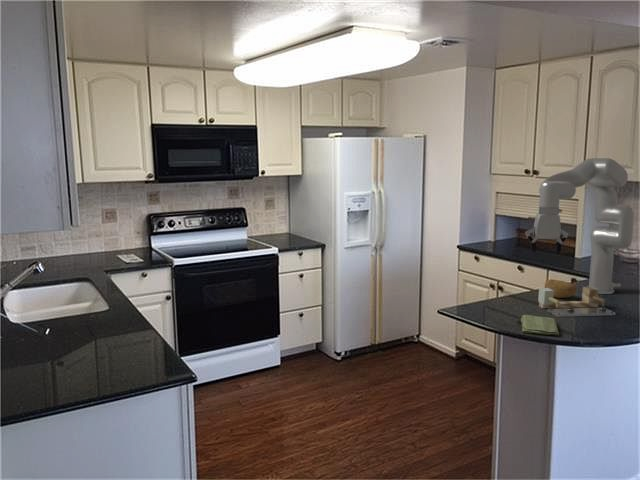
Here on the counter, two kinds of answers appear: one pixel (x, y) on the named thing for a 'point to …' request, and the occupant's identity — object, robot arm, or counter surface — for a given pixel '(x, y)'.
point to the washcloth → (539, 325)
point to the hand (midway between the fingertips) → (545, 252)
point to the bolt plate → (581, 312)
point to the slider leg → (547, 297)
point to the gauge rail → (588, 300)
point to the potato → (561, 288)
